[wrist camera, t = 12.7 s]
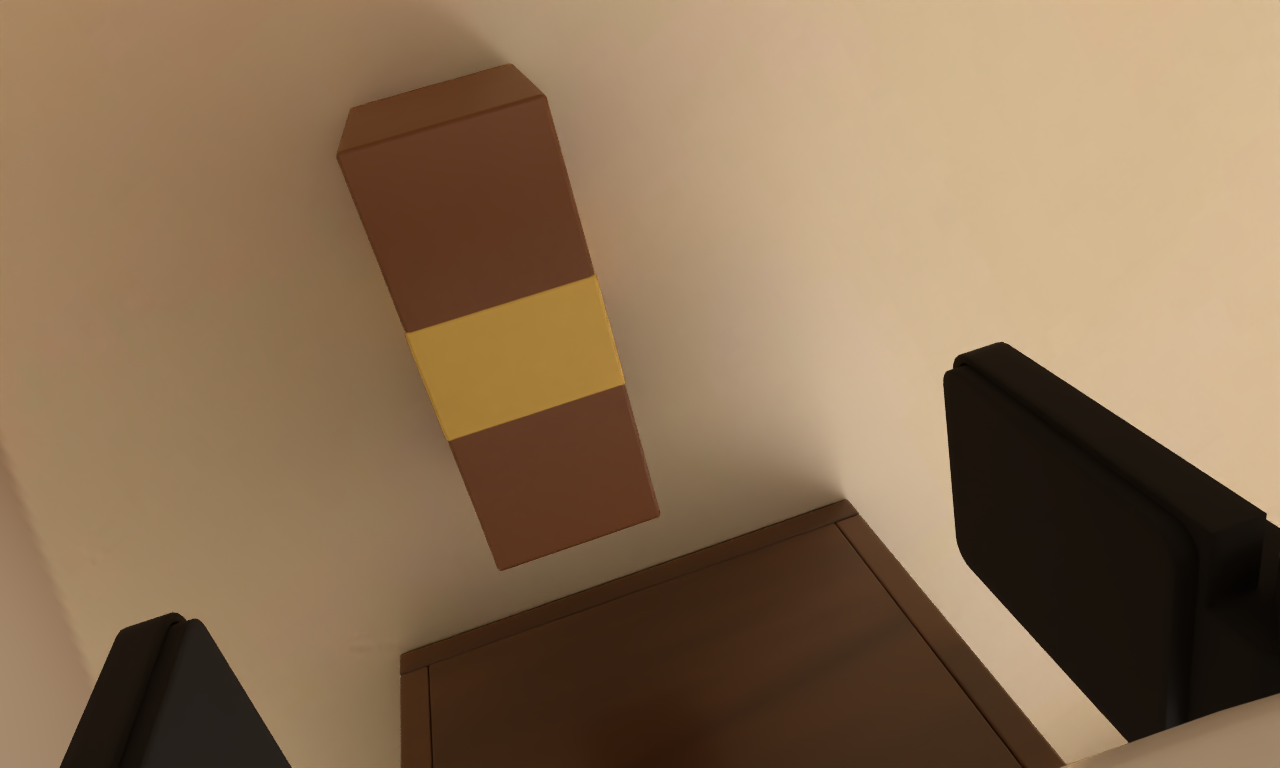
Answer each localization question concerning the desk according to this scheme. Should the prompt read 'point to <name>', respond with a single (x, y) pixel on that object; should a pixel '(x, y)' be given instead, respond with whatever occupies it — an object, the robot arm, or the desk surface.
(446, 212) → the candy bar
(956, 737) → the chest
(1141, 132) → the desk surface
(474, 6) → the desk surface
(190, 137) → the desk surface
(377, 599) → the desk surface
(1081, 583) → the robot arm
